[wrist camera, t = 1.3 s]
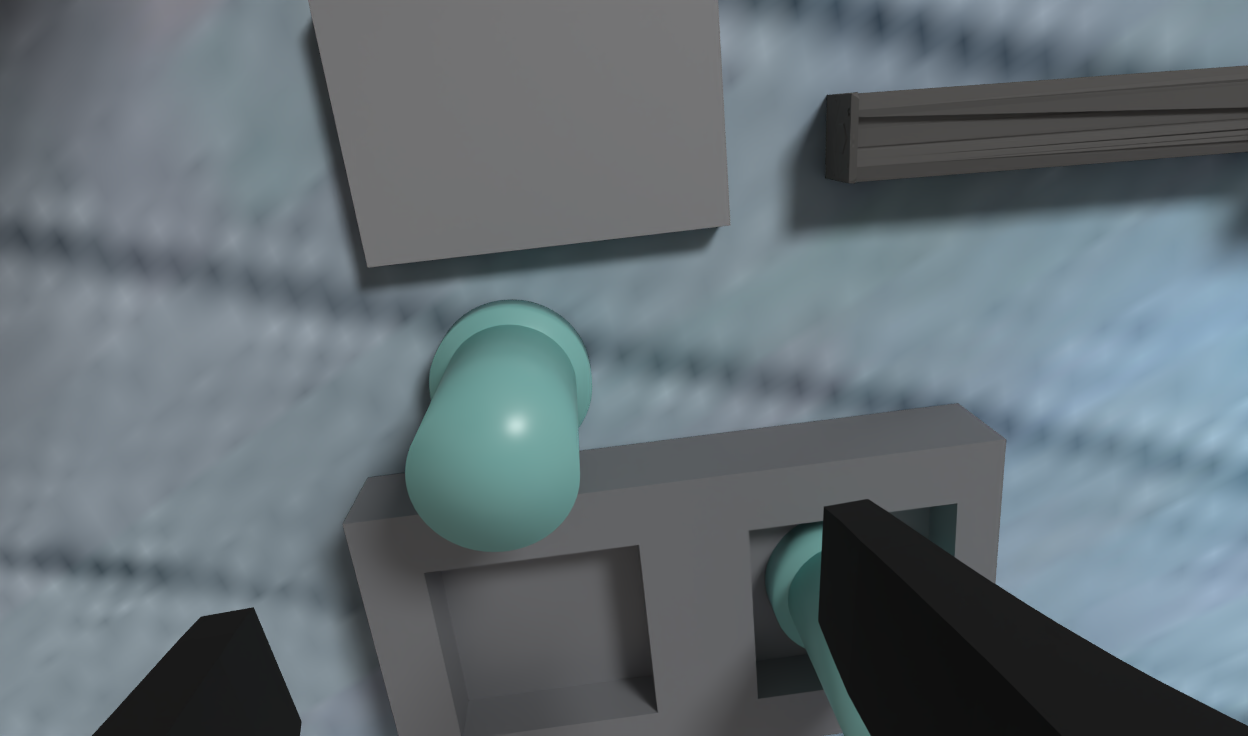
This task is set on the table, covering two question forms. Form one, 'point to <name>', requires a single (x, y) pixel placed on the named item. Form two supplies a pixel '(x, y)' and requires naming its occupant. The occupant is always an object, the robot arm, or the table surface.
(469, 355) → the peg
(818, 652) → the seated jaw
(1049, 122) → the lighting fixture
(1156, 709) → the robot arm
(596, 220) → the lid
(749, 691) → the housing
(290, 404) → the table surface
